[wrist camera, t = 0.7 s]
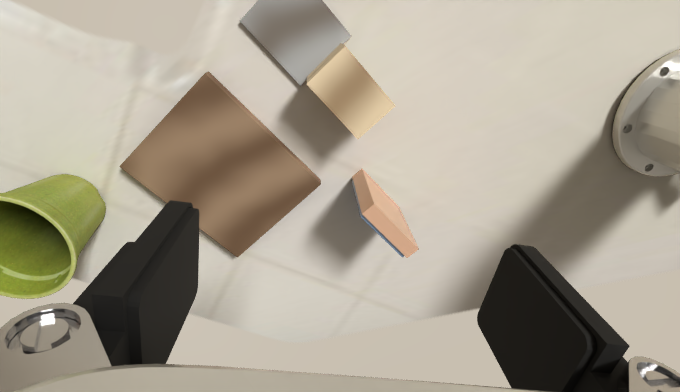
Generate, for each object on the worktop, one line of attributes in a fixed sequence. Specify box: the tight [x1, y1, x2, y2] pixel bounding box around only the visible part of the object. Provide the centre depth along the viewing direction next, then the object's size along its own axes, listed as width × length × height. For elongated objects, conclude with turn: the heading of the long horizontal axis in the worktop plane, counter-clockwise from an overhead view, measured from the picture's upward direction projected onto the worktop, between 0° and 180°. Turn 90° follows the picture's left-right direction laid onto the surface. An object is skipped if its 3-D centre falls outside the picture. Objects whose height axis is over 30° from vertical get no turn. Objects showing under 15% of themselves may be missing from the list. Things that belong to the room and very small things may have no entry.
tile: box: [352, 169, 419, 258], centre depth 34 cm, size 6×2×8 cm, turn 42°
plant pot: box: [0, 174, 106, 299], centre depth 32 cm, size 9×9×9 cm
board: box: [120, 72, 321, 257], centre depth 35 cm, size 14×12×1 cm
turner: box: [240, 0, 395, 139], centre depth 30 cm, size 13×6×5 cm, turn 42°
